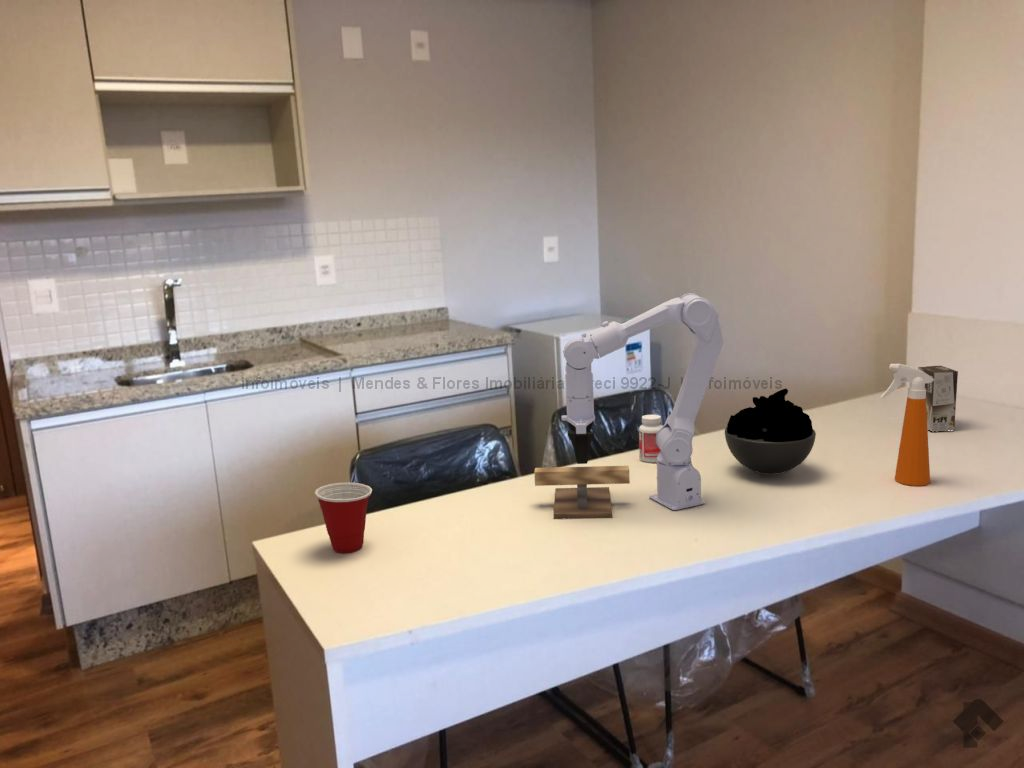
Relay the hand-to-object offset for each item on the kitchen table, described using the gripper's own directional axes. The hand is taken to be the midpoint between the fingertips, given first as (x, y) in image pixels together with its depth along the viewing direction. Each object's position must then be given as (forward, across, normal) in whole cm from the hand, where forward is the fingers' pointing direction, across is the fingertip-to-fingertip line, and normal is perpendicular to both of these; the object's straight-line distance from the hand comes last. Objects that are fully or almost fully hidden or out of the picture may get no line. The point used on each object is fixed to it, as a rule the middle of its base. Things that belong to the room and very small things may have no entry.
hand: (582, 457), depth 175 cm
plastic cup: (+10, +21, -46) cm, 52 cm away
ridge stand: (+10, 0, 0) cm, 10 cm away
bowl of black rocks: (+11, -18, +43) cm, 48 cm away
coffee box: (+11, -52, +94) cm, 108 cm away
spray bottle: (+11, -10, +70) cm, 72 cm away
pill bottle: (+11, -30, +17) cm, 37 cm away
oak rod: (+5, 0, 0) cm, 5 cm away
